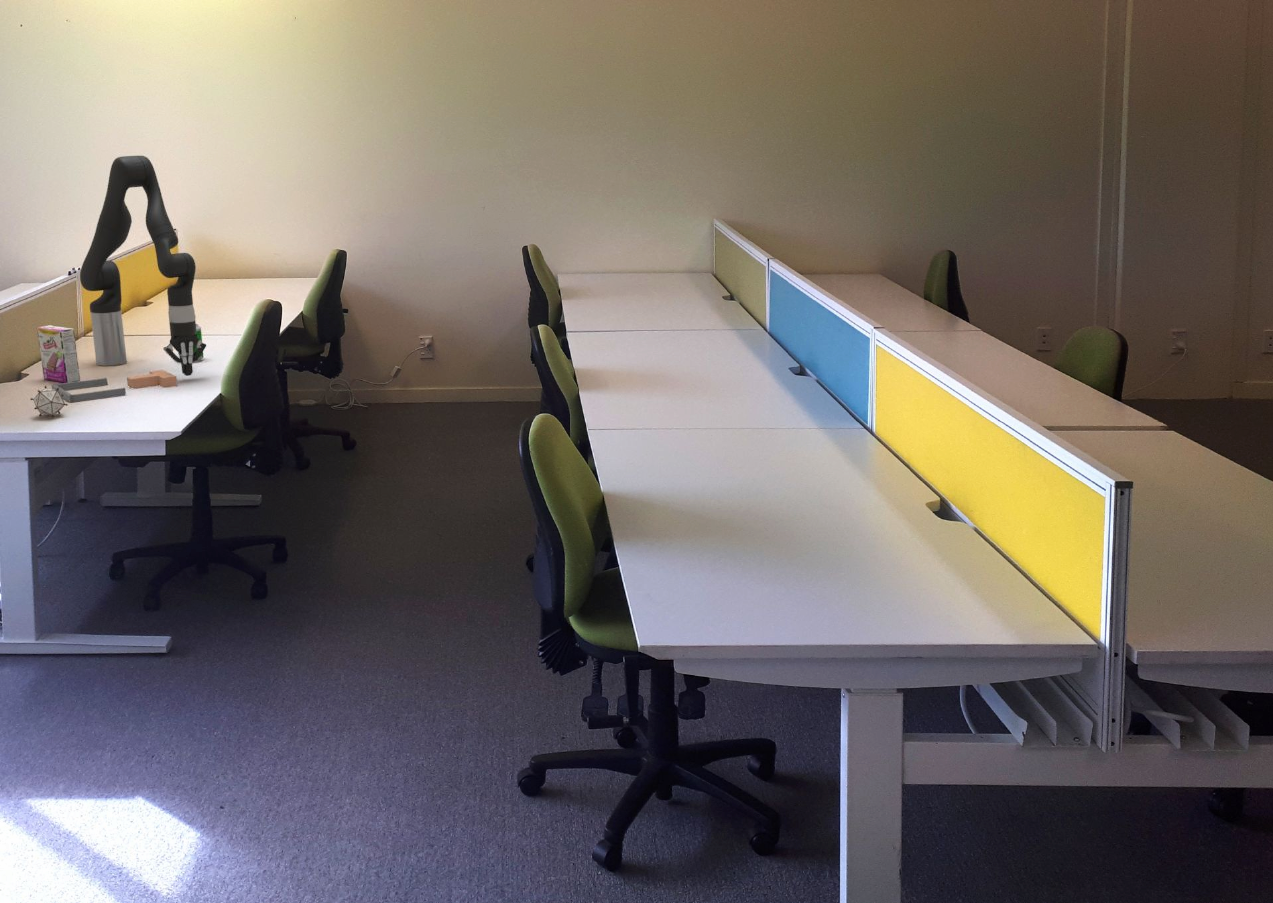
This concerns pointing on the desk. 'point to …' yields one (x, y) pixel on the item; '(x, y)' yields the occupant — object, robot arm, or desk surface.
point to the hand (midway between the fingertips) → (187, 375)
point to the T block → (152, 379)
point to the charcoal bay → (88, 395)
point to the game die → (49, 401)
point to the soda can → (199, 340)
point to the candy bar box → (58, 354)
